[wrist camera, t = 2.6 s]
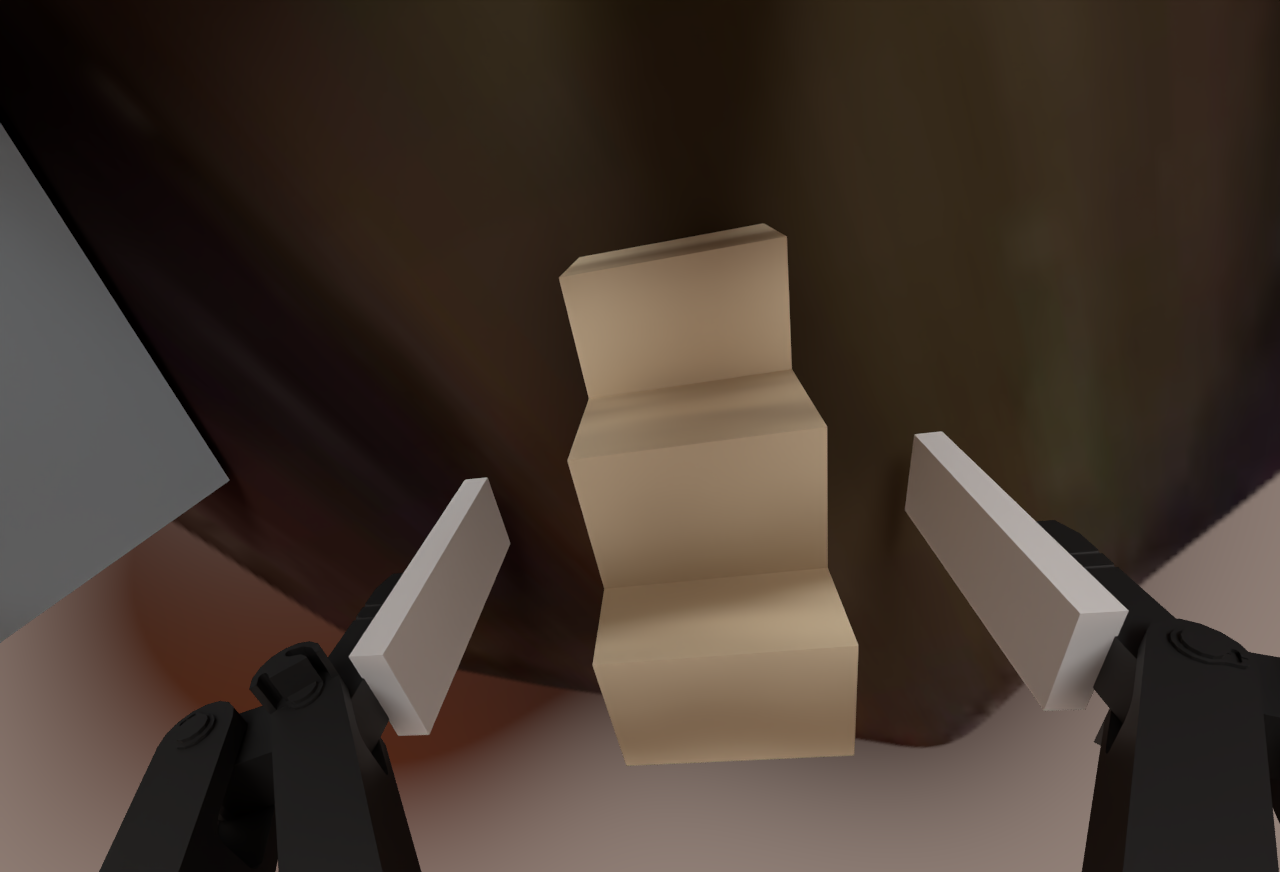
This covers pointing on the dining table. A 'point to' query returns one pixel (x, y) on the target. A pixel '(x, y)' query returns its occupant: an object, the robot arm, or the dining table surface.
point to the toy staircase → (707, 506)
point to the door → (76, 415)
